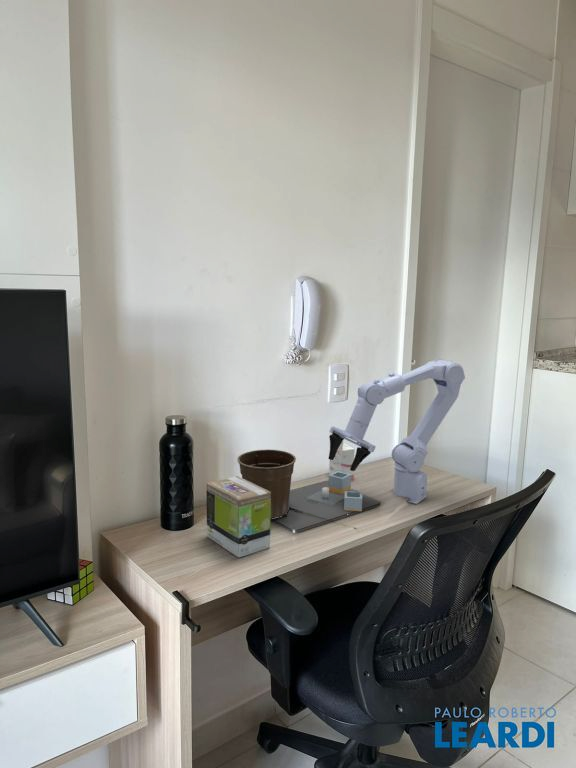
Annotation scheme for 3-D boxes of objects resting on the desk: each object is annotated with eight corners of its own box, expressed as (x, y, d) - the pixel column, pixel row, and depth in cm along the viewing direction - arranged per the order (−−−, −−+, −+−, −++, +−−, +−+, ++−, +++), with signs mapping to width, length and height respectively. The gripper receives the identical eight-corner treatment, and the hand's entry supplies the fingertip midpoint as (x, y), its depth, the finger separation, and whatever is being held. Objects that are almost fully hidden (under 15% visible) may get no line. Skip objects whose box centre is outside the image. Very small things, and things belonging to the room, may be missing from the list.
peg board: (357, 494, 179) (358, 481, 178) (331, 509, 167) (332, 495, 166) (332, 487, 184) (333, 474, 183) (306, 501, 172) (306, 488, 171)
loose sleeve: (361, 508, 168) (362, 492, 167) (361, 515, 163) (362, 498, 162) (344, 507, 169) (344, 491, 168) (343, 514, 164) (344, 497, 163)
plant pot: (247, 527, 154) (247, 470, 151) (230, 505, 169) (230, 452, 166) (303, 519, 160) (305, 463, 157) (282, 498, 175) (283, 447, 172)
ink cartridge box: (354, 483, 188) (356, 439, 186) (341, 485, 186) (342, 441, 183) (341, 475, 196) (342, 433, 193) (328, 477, 194) (329, 434, 191)
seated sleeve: (350, 489, 179) (351, 474, 178) (342, 494, 175) (342, 478, 174) (336, 486, 182) (337, 471, 181) (328, 490, 178) (328, 475, 177)
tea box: (271, 547, 143) (272, 491, 140) (237, 559, 137) (237, 500, 134) (237, 526, 154) (238, 474, 152) (205, 536, 148) (204, 481, 146)
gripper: (332, 411, 169) (315, 453, 169) (375, 430, 161) (356, 475, 162) (343, 413, 175) (325, 455, 175) (384, 432, 167) (366, 475, 168)
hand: (341, 464), depth 169 cm, fingers open, 7 cm apart
